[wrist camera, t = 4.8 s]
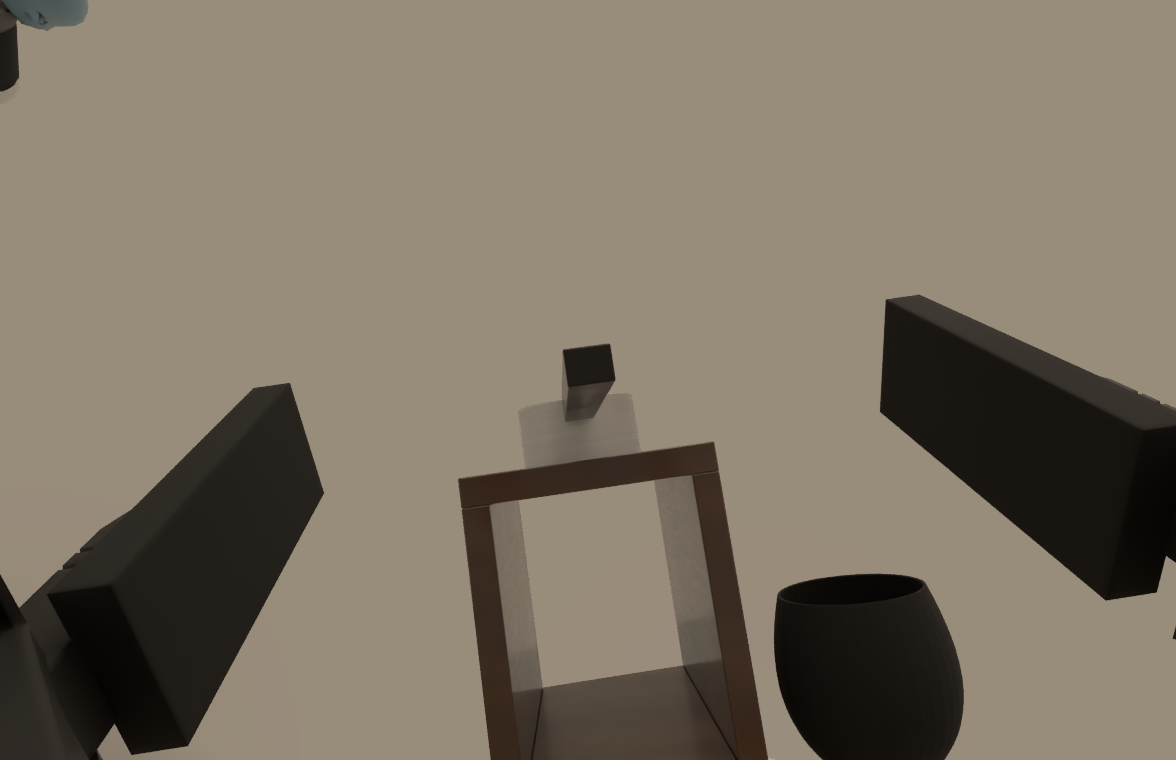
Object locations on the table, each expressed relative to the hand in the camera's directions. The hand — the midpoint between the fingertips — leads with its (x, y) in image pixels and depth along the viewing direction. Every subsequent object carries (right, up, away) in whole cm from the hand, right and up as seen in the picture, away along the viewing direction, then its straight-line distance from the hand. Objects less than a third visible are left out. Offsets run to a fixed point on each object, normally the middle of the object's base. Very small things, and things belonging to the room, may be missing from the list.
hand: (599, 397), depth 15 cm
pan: (0, -5, +25) cm, 26 cm away
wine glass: (+19, -32, +24) cm, 44 cm away
